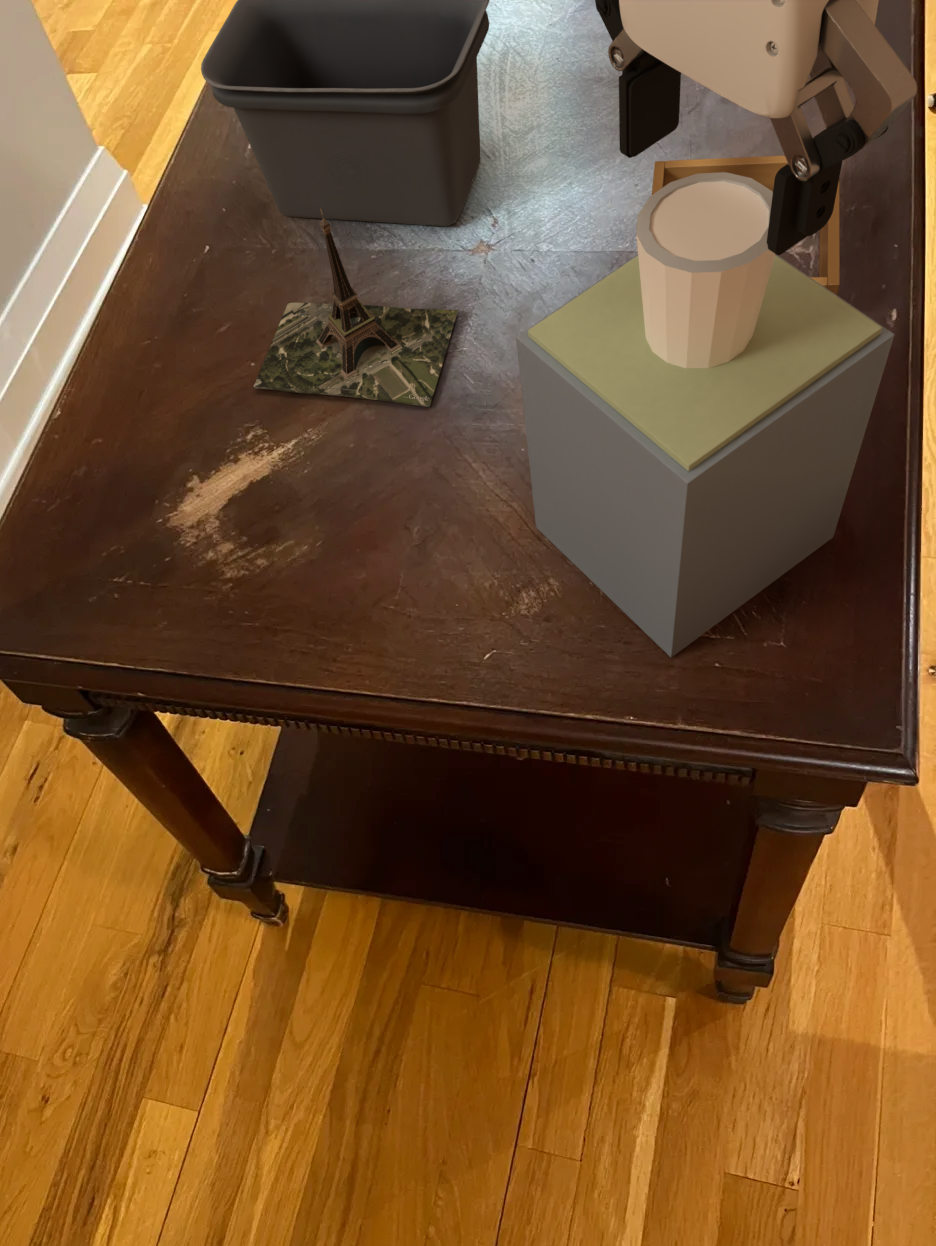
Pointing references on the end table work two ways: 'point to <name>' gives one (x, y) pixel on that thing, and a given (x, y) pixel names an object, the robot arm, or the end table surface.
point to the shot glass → (703, 267)
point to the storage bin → (356, 103)
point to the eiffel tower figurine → (357, 346)
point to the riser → (691, 491)
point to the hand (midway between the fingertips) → (720, 186)
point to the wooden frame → (765, 175)
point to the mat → (703, 397)
